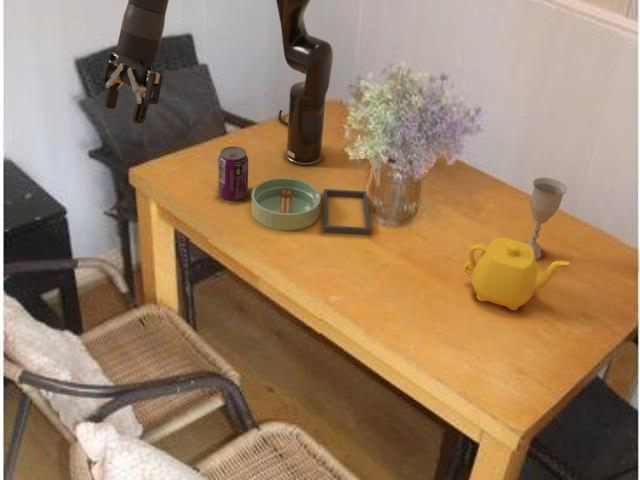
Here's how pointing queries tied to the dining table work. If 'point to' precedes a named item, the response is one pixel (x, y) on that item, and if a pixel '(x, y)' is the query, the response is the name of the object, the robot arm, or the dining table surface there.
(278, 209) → the bowl
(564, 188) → the chalice
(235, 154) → the beverage can
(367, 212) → the tray
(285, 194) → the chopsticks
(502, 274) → the teapot
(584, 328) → the dining table surface
